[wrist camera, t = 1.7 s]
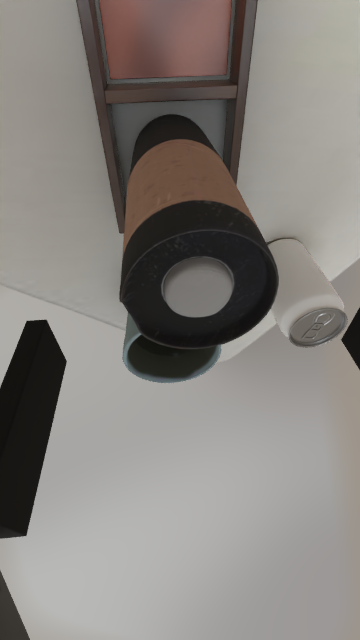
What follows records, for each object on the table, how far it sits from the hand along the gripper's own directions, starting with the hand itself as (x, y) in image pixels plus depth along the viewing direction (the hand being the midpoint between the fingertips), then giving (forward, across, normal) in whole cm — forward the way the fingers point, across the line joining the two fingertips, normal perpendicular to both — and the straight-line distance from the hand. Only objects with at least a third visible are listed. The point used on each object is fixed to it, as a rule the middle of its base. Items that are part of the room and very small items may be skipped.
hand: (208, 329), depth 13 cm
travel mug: (+22, 0, 0) cm, 22 cm away
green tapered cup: (+22, -2, -14) cm, 26 cm away
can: (+22, +13, -12) cm, 28 cm away
